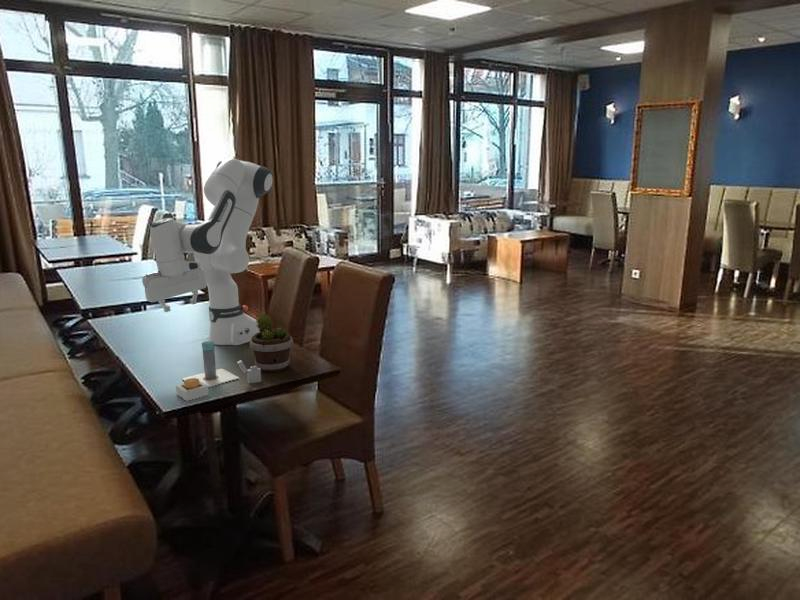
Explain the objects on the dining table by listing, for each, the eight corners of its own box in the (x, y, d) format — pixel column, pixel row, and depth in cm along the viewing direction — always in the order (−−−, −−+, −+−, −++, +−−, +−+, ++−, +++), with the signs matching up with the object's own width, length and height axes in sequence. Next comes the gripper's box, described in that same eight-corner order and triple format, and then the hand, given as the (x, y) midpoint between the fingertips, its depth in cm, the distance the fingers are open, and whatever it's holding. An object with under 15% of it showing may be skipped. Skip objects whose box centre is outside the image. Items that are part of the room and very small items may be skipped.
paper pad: (221, 370, 200) (221, 368, 200) (239, 379, 192) (239, 377, 192) (182, 380, 191) (181, 378, 191) (198, 390, 183) (198, 388, 182)
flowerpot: (303, 367, 203) (301, 312, 198) (264, 378, 193) (261, 320, 188) (279, 357, 213) (277, 304, 209) (242, 367, 203) (238, 312, 198)
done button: (195, 383, 182) (195, 377, 181) (202, 387, 178) (201, 380, 178) (181, 386, 179) (181, 380, 178) (188, 390, 175) (187, 384, 175)
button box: (198, 388, 184) (197, 379, 183) (208, 395, 179) (207, 385, 178) (176, 394, 179) (175, 385, 178) (186, 401, 174) (185, 391, 174)
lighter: (259, 379, 192) (258, 356, 190) (261, 381, 190) (260, 358, 188) (238, 383, 188) (236, 360, 186) (239, 385, 187) (238, 361, 185)
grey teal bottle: (213, 374, 194) (210, 340, 191) (218, 377, 191) (216, 342, 188) (202, 377, 191) (199, 342, 189) (208, 380, 189) (205, 345, 186)
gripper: (144, 276, 185) (154, 317, 188) (204, 261, 198) (212, 300, 202) (137, 274, 189) (146, 315, 193) (196, 260, 202) (204, 298, 206)
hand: (181, 307), depth 197 cm, fingers open, 8 cm apart
